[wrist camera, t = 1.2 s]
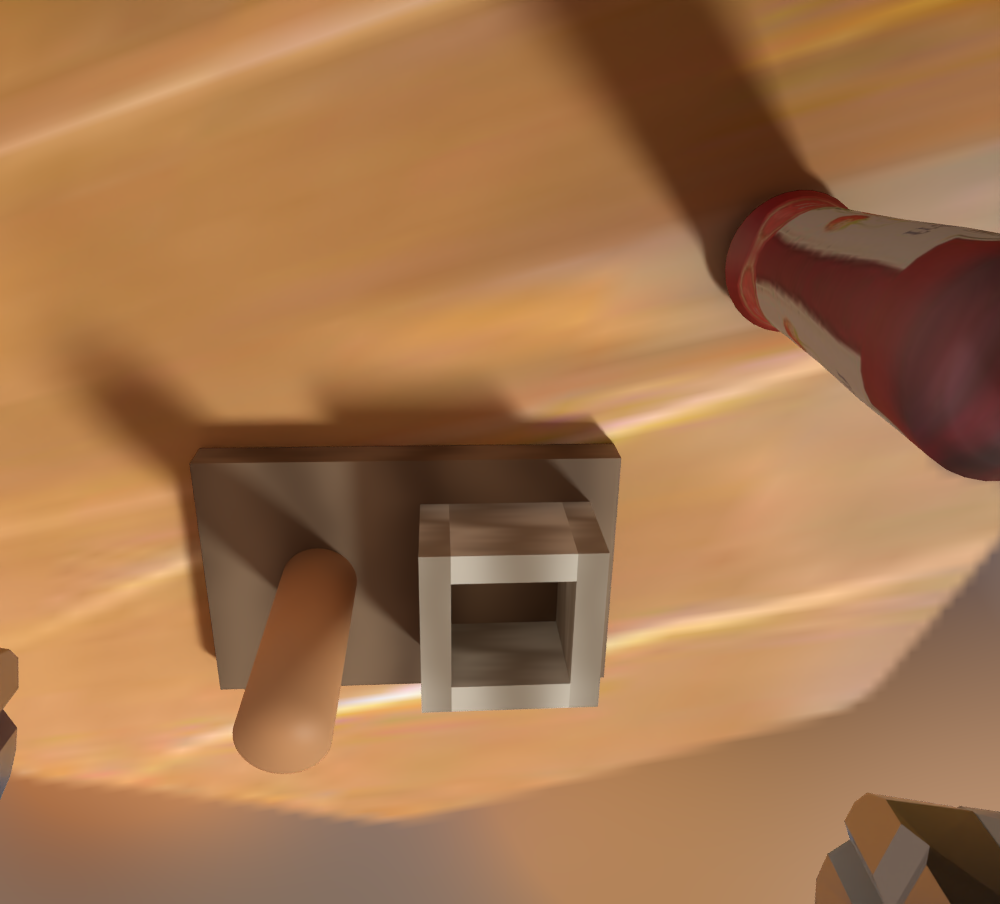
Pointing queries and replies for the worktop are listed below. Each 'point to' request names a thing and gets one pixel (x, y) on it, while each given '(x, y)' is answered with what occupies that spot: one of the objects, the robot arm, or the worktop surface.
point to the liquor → (884, 315)
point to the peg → (298, 666)
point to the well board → (425, 562)
